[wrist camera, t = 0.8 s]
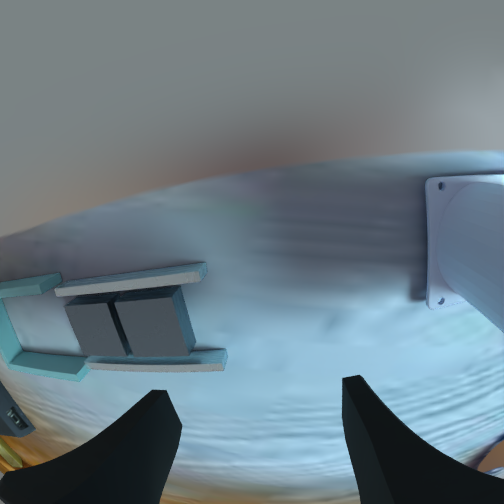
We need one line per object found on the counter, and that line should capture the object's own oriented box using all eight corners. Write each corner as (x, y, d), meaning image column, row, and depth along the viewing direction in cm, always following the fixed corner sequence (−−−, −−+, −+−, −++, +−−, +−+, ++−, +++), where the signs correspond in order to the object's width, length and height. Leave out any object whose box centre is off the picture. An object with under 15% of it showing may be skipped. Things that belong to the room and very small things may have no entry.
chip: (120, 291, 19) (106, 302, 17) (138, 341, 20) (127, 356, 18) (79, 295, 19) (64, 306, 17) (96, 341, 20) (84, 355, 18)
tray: (59, 272, 18) (38, 284, 16) (94, 364, 20) (80, 381, 18) (-7, 283, 20) (-24, 292, 17) (22, 356, 22) (8, 368, 19)
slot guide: (205, 262, 17) (198, 271, 16) (227, 356, 19) (223, 370, 17) (66, 280, 19) (53, 288, 17) (96, 357, 20) (86, 368, 19)
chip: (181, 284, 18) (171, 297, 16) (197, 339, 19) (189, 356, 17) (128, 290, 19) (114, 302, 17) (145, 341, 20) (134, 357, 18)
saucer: (-11, 432, 33) (-16, 437, 30) (-4, 429, 31) (-9, 435, 29) (16, 461, 34) (12, 466, 32) (27, 461, 32) (22, 467, 30)
